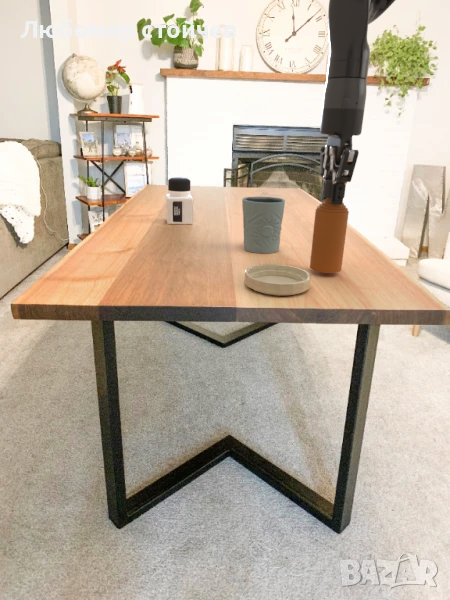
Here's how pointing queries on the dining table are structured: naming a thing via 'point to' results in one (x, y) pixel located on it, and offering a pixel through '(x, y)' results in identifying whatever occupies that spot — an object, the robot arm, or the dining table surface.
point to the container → (179, 202)
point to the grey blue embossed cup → (262, 223)
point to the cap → (329, 189)
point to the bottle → (329, 237)
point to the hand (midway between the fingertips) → (332, 202)
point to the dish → (277, 279)
